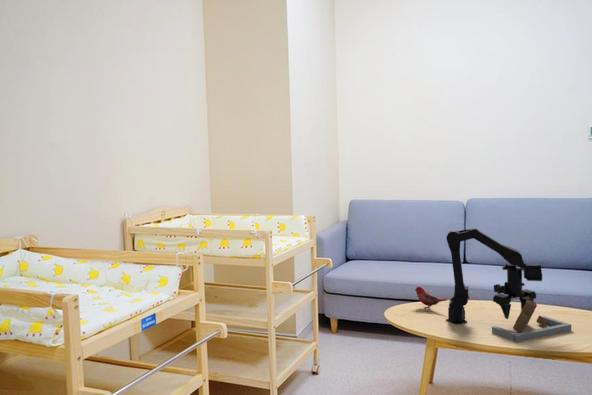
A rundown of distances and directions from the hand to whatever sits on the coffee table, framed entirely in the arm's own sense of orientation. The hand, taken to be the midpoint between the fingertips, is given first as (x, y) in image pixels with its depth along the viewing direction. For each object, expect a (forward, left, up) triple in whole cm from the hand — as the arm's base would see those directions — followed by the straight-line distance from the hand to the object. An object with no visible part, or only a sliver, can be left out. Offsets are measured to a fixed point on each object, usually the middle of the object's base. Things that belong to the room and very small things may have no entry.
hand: (515, 317), depth 215 cm
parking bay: (0, -8, -4) cm, 9 cm away
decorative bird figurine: (-15, +36, -4) cm, 39 cm away
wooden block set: (+2, -4, -4) cm, 6 cm away
